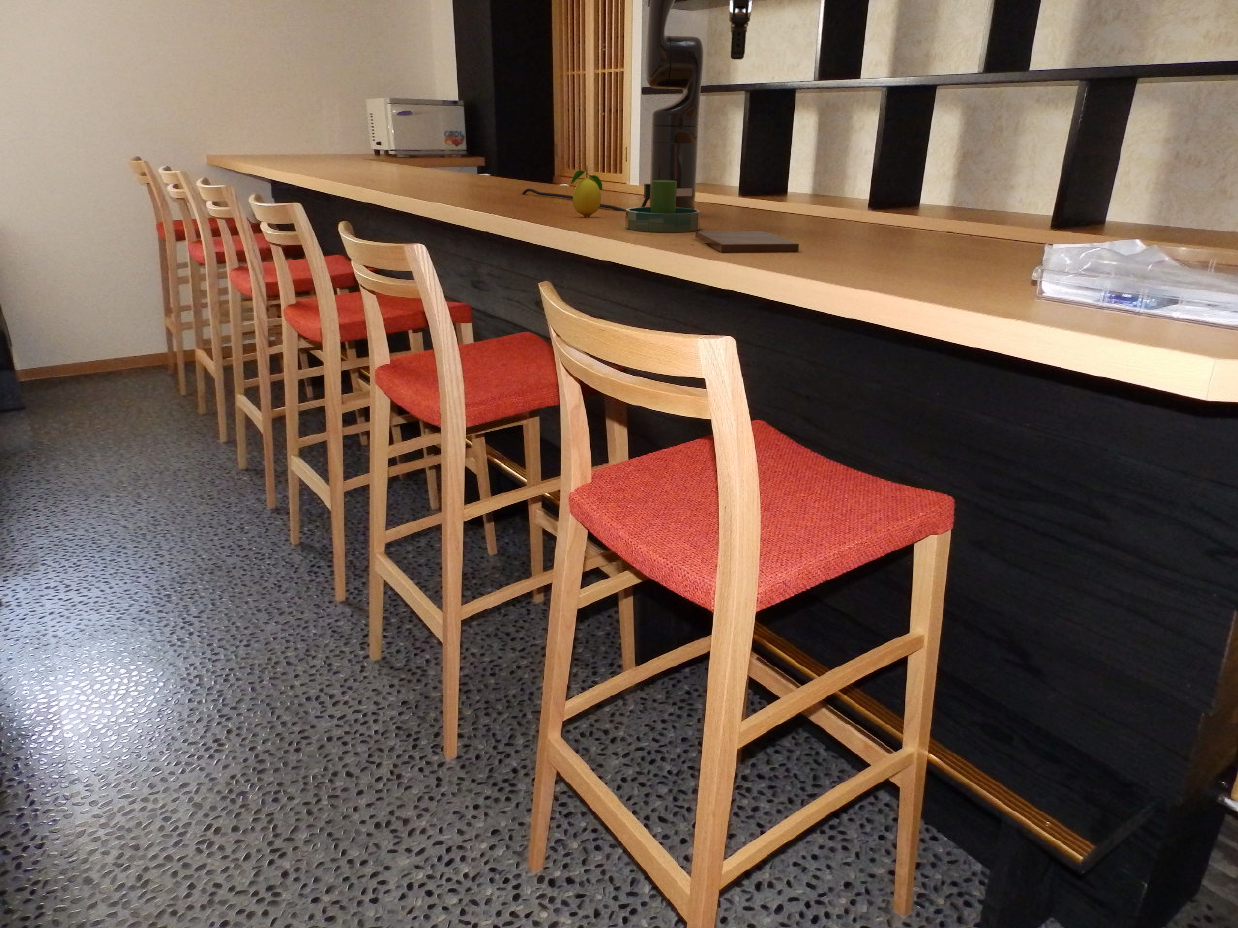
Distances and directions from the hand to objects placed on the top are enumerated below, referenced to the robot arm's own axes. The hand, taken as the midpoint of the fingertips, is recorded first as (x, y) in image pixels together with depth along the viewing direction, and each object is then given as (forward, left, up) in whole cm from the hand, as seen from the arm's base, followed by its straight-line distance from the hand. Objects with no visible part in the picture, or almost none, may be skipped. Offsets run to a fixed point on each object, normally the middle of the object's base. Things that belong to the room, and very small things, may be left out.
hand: (737, 57), depth 138 cm
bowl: (-3, -11, -28) cm, 30 cm away
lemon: (-24, -22, -28) cm, 43 cm away
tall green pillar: (-3, -11, -28) cm, 30 cm away
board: (+17, -2, -28) cm, 33 cm away
